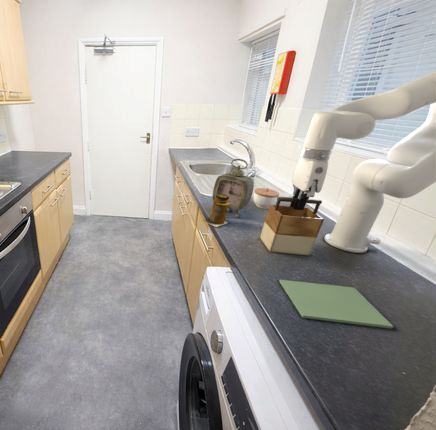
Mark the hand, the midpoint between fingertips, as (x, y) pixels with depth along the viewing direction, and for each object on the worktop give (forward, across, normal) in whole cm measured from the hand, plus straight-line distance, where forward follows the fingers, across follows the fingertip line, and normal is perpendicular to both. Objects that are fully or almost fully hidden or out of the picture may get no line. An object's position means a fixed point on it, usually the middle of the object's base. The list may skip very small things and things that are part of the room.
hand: (296, 208), depth 90 cm
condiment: (+15, +16, +21) cm, 31 cm away
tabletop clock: (+15, +28, +13) cm, 34 cm away
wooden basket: (+8, 0, 0) cm, 8 cm away
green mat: (+15, -29, 0) cm, 33 cm away
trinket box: (+15, +39, -6) cm, 42 cm away
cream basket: (+15, 0, 0) cm, 15 cm away
